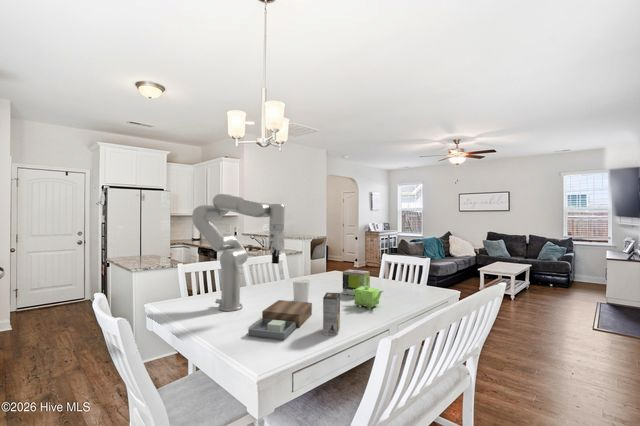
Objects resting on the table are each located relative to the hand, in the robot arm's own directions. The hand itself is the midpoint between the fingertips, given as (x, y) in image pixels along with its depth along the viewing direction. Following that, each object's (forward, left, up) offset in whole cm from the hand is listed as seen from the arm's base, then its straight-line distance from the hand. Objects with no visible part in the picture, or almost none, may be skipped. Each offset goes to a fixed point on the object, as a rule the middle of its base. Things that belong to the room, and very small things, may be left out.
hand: (275, 263), depth 169 cm
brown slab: (+10, -7, -26) cm, 28 cm away
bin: (+10, -26, -26) cm, 38 cm away
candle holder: (+6, +25, -26) cm, 36 cm away
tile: (+11, -24, -22) cm, 34 cm away
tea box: (+34, +52, -26) cm, 67 cm away
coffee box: (+34, -17, -26) cm, 46 cm away
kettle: (+44, +26, -26) cm, 57 cm away
